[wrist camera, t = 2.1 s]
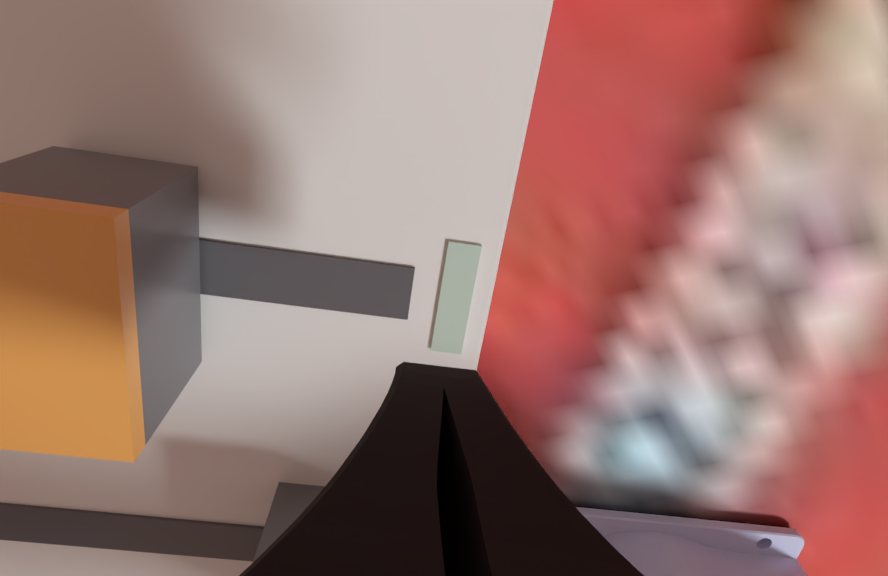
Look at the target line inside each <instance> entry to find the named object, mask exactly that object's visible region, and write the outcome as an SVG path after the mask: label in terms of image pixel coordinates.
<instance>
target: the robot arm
mask: <svg viewBox="0 0 888 576" xmlns="http://www.w3.org/2000/svg"><path fill="white" fill-rule="evenodd" d="M804 543H805V542H804V539H803V537H802V536H801V535H800V533H799V532H798V531H797V530H796V529H792V528H785V527H775V526H765V525H755V524H745V523H735V522H724V521H714V520H704V519H694V518H684V517H674V516H664V515H654V514H643V513H633V512H623V511H613V510H603V509H593V508H583V507H575V506H574V505H573V504H572V503H571V502H570V501H569V499H568V498H567V497H566V496H565V495H564V494H563V492H562V491H561V490H560V489H559V488H558V486H557V485H556V484H555V483H554V482H553V480H552V479H551V478H550V477H549V475H548V474H547V473H546V472H545V470H544V469H543V468H542V466H541V465H540V464H539V463H538V461H537V460H536V459H535V457H534V456H533V455H532V453H531V452H530V450H529V449H528V448H527V446H526V445H525V444H524V442H523V441H522V439H521V438H520V437H519V435H518V434H517V432H516V431H515V430H514V428H513V427H512V425H511V424H510V422H509V421H508V419H507V418H506V416H505V415H504V413H503V412H502V410H501V409H500V407H499V406H498V404H497V403H496V401H495V399H494V398H493V396H492V395H491V393H490V391H489V390H488V388H487V387H486V385H485V383H484V382H483V380H482V379H481V377H480V376H479V374H478V373H477V372H476V370H470V369H462V368H453V367H444V366H436V365H427V364H419V363H410V362H403V363H401V364H400V365H398V366H396V370H395V375H394V378H393V381H392V384H391V386H390V388H389V391H388V393H387V395H386V397H385V399H384V401H383V403H382V405H381V407H380V408H379V410H378V412H377V413H376V415H375V417H374V418H373V420H372V422H371V423H370V425H369V427H368V428H367V430H366V432H365V433H364V435H363V436H362V438H361V439H360V441H359V442H358V443H357V445H356V446H355V448H354V449H353V450H352V452H351V453H350V454H349V456H348V457H347V459H346V460H345V461H344V463H343V464H342V465H341V467H340V468H339V470H338V471H337V472H336V473H335V475H334V476H333V477H332V478H331V480H330V481H329V482H328V483H327V485H326V486H325V487H324V488H323V490H322V491H321V492H320V493H319V494H318V495H317V497H316V498H315V499H314V500H313V501H312V502H311V503H310V505H309V506H308V507H307V508H306V509H305V510H304V511H303V512H302V514H301V515H300V516H299V517H298V518H297V519H296V520H295V521H294V522H293V523H292V524H291V525H290V526H289V527H288V528H287V529H286V530H285V531H284V532H283V533H282V534H281V535H280V536H279V537H278V538H277V539H276V540H275V541H274V542H273V543H272V544H271V545H270V546H269V548H268V549H267V550H266V551H265V552H263V553H262V554H261V555H260V556H259V557H258V558H257V559H256V560H255V561H254V562H253V563H252V564H251V565H250V566H249V567H248V568H247V569H245V570H244V571H243V572H242V573H241V574H240V575H239V576H808V575H807V574H806V572H805V571H804V569H803V568H802V566H801V565H800V564H799V562H798V561H797V557H798V555H799V554H800V552H801V550H802V548H803V546H804Z"/></svg>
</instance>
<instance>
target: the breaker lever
mask: <svg viewBox="0 0 888 576" xmlns="http://www.w3.org/2000/svg"><path fill="white" fill-rule="evenodd" d="M201 362H202V348H201V299H200V251H199V202H198V167H197V166H190V165H183V164H176V163H169V162H162V161H155V160H148V159H141V158H134V157H127V156H120V155H113V154H106V153H99V152H92V151H85V150H78V149H71V148H64V147H57V146H52V147H49V148H46V149H43V150H39V151H36V152H33V153H30V154H27V155H24V156H21V157H18V158H15V159H11V160H8V161H5V162H2V163H0V449H3V450H13V451H23V452H33V453H43V454H53V455H64V456H74V457H84V458H94V459H104V460H114V461H124V462H135V460H136V459H137V457H138V456H139V454H140V453H141V451H142V450H143V448H144V447H145V445H146V444H147V442H148V441H149V439H150V438H151V436H152V435H153V434H154V432H155V431H156V429H157V428H158V426H159V425H160V423H161V422H162V420H163V419H164V417H165V416H166V414H167V413H168V411H169V410H170V408H171V407H172V405H173V404H174V402H175V401H176V399H177V398H178V396H179V395H180V393H181V392H182V390H183V389H184V387H185V386H186V384H187V383H188V381H189V380H190V378H191V377H192V375H193V374H194V373H195V371H196V370H197V368H198V367H199V365H200V364H201Z"/></svg>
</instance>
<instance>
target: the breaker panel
mask: <svg viewBox="0 0 888 576" xmlns="http://www.w3.org/2000/svg"><path fill="white" fill-rule="evenodd" d="M553 1H554V0H0V163H2V162H5V161H8V160H11V159H15V158H18V157H21V156H24V155H27V154H30V153H33V152H36V151H39V150H43V149H46V148H49V147H52V146H57V147H64V148H71V149H78V150H85V151H92V152H99V153H106V154H113V155H120V156H127V157H134V158H141V159H148V160H155V161H162V162H169V163H176V164H183V165H190V166H197V167H198V202H199V251H200V299H201V348H202V362H201V364H200V365H199V367H198V368H197V370H196V371H195V373H194V374H193V375H192V377H191V378H190V380H189V381H188V383H187V384H186V386H185V387H184V389H183V390H182V392H181V393H180V395H179V396H178V398H177V399H176V401H175V402H174V404H173V405H172V407H171V408H170V410H169V411H168V413H167V414H166V416H165V417H164V419H163V420H162V422H161V423H160V425H159V426H158V428H157V429H156V431H155V432H154V434H153V435H152V436H151V438H150V439H149V441H148V442H147V444H146V445H145V447H144V448H143V450H142V451H141V453H140V454H139V456H138V457H137V459H136V460H135V462H124V461H114V460H104V459H94V458H84V457H74V456H64V455H53V454H43V453H33V452H23V451H13V450H3V449H0V576H239V575H240V574H241V573H242V572H243V571H244V570H245V569H247V568H248V567H249V566H250V565H251V564H252V563H253V562H254V561H255V560H256V559H257V558H258V557H259V556H260V555H261V554H262V553H263V552H265V551H266V550H267V549H268V548H269V546H270V545H271V544H272V543H273V542H274V541H275V540H276V539H277V538H278V537H279V536H280V535H281V534H282V533H283V532H284V531H285V530H286V529H287V528H288V527H289V526H290V525H291V524H292V523H293V522H294V521H295V520H296V519H297V518H298V517H299V516H300V515H301V514H302V512H303V511H304V510H305V509H306V508H307V507H308V506H309V505H310V503H311V502H312V501H313V500H314V499H315V498H316V497H317V495H318V494H319V493H320V492H321V491H322V490H323V488H324V487H325V486H326V485H327V483H328V482H329V481H330V480H331V478H332V477H333V476H334V475H335V473H336V472H337V471H338V470H339V468H340V467H341V465H342V464H343V463H344V461H345V460H346V459H347V457H348V456H349V454H350V453H351V452H352V450H353V449H354V448H355V446H356V445H357V443H358V442H359V441H360V439H361V438H362V436H363V435H364V433H365V432H366V430H367V428H368V427H369V425H370V423H371V422H372V420H373V418H374V417H375V415H376V413H377V412H378V410H379V408H380V407H381V405H382V403H383V401H384V399H385V397H386V395H387V393H388V391H389V388H390V386H391V384H392V381H393V378H394V375H395V370H396V366H398V365H400V364H401V363H403V362H410V363H419V364H427V365H436V366H444V367H453V368H462V369H470V370H476V371H477V366H478V361H479V356H480V351H481V347H482V342H483V337H484V332H485V327H486V322H487V318H488V313H489V308H490V303H491V298H492V294H493V289H494V284H495V279H496V274H497V270H498V265H499V260H500V255H501V250H502V246H503V241H504V236H505V231H506V226H507V222H508V217H509V212H510V207H511V202H512V198H513V193H514V188H515V183H516V178H517V174H518V169H519V164H520V159H521V154H522V150H523V145H524V140H525V135H526V130H527V125H528V121H529V116H530V111H531V106H532V101H533V97H534V92H535V87H536V82H537V77H538V73H539V68H540V63H541V58H542V53H543V49H544V44H545V39H546V34H547V29H548V25H549V20H550V15H551V10H552V5H553Z"/></svg>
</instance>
